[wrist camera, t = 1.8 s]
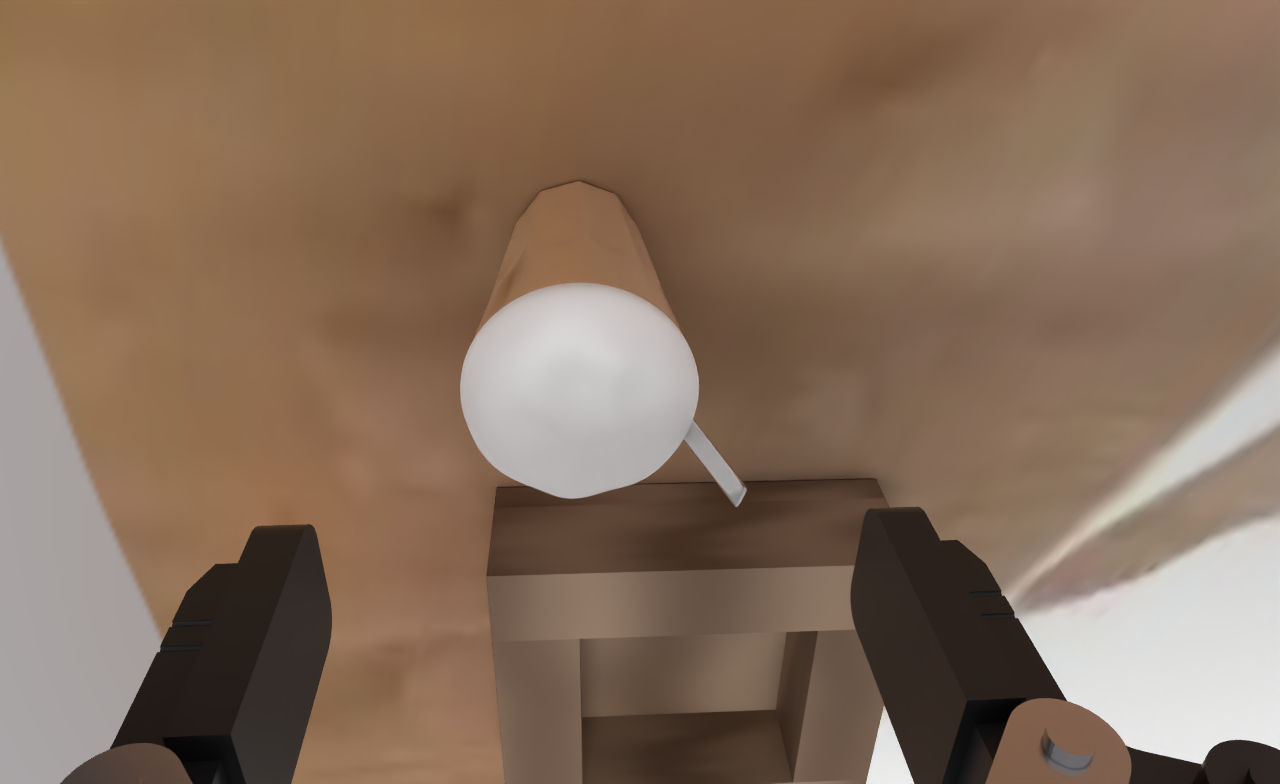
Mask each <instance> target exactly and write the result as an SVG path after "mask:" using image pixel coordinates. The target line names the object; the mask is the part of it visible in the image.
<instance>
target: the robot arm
mask: <svg viewBox="0 0 1280 784" xmlns="http://www.w3.org/2000/svg"><path fill="white" fill-rule="evenodd" d="M850 602H851V612H852V618H853V622H854V626H855V629H856V631H857V634H858V637H859V639H860V642H861V645H862V647H863V650H864V652H865V655H866V658H867V660H868V663H869V666H870V668H871V671H872V673H873V676H874V679H875V681H876V684H877V687H878V689H879V692H880V694H881V697H882V700H883V702H884V705H885V708H886V710H887V713H888V715H889V718H890V721H891V723H892V726H893V729H894V731H895V734H896V736H897V739H898V742H899V744H900V747H901V749H902V752H903V755H904V757H905V760H906V763H907V765H908V768H909V770H910V773H911V776H912V778H913V781H914V784H1280V750H1278V749H1276V748H1273V747H1271V746H1268V745H1265V744H1261V743H1258V742H1253V741H1247V740H1230V741H1225V742H1222V743H1219V744H1218V745H1216V746H1214V747H1213V748H1212V749H1211V750H1210V751H1209V753H1208V754H1207V756H1206V758H1205V760H1204V762H1203V764H1198V763H1193V762H1189V761H1184V760H1180V759H1175V758H1171V757H1166V756H1162V755H1157V754H1153V753H1148V752H1144V751H1141V750H1137V749H1133V748H1130V747H1128V746H1126V745H1125V744H1124V742H1123V740H1122V739H1121V738H1120V736H1119V735H1118V734H1117V732H1116V731H1115V730H1114V729H1113V728H1112V727H1111V726H1110V725H1109V724H1108V723H1106V722H1105V721H1104V720H1103V719H1101V718H1100V717H1099V716H1097V715H1096V714H1094V713H1092V712H1091V711H1089V710H1087V709H1085V708H1083V707H1081V706H1079V705H1076V704H1073V703H1071V702H1068V701H1067V700H1066V698H1065V697H1064V695H1063V693H1062V692H1061V690H1060V688H1059V687H1058V685H1057V683H1056V682H1055V680H1054V678H1053V677H1052V675H1051V673H1050V671H1049V670H1048V668H1047V666H1046V665H1045V663H1044V661H1043V660H1042V658H1041V656H1040V655H1039V653H1038V651H1037V650H1036V648H1035V646H1034V645H1033V643H1032V641H1031V639H1030V638H1029V636H1028V634H1027V633H1026V631H1025V629H1024V628H1023V626H1022V624H1021V623H1020V621H1019V619H1018V618H1015V616H1014V611H1013V609H1012V608H1011V606H1010V604H1009V602H1008V601H1007V599H1006V597H1005V596H1002V594H1001V589H1000V587H999V586H998V584H997V582H996V581H995V579H994V577H993V576H992V574H991V572H990V571H989V569H988V567H987V565H986V564H985V563H984V562H983V561H982V560H981V559H979V558H978V557H977V556H976V555H975V554H974V553H972V552H971V551H970V550H969V549H968V548H966V547H965V546H964V545H963V544H962V543H960V542H959V541H958V540H945V541H940V539H939V537H938V535H937V533H936V532H935V530H934V528H933V526H932V524H931V522H930V521H929V519H928V517H927V515H926V514H925V512H924V511H923V510H922V509H921V508H920V507H897V508H870V509H868V510H867V512H866V514H865V516H864V520H863V525H862V530H861V535H860V540H859V546H858V551H857V556H856V561H855V566H854V572H853V577H852V582H851V590H850ZM172 622H173V625H172V627H169V629H168V631H167V633H166V635H165V637H164V639H163V641H162V644H161V646H160V647H161V649H160V652H158V653H157V654H156V656H155V658H154V660H153V662H152V664H151V666H150V668H149V670H148V672H147V674H146V677H145V678H144V680H143V683H142V685H141V687H140V689H139V691H138V693H137V695H136V697H135V699H134V701H133V703H132V705H131V707H130V709H129V711H128V713H127V715H126V717H125V719H124V721H123V724H122V726H121V728H120V730H119V732H118V734H117V736H116V738H115V740H114V742H113V744H112V746H111V747H110V749H109V750H107V751H105V752H103V753H101V754H98V755H96V756H95V757H93V758H91V759H89V760H88V761H86V762H84V763H83V764H82V765H80V766H79V767H77V768H76V769H75V770H74V771H72V772H71V773H70V774H69V775H68V776H67V777H66V778H65V779H64V780H63V781H62V782H61V783H60V784H291V782H292V779H293V775H294V771H295V768H296V764H297V761H298V757H299V753H300V750H301V746H302V743H303V739H304V735H305V732H306V728H307V725H308V721H309V717H310V714H311V710H312V707H313V703H314V699H315V696H316V692H317V689H318V685H319V681H320V678H321V674H322V671H323V667H324V664H325V660H326V656H327V653H328V649H329V645H330V639H331V629H332V611H331V602H330V597H329V592H328V587H327V583H326V578H325V573H324V568H323V563H322V558H321V553H320V548H319V543H318V539H317V534H316V531H315V529H314V527H313V526H312V525H310V524H308V525H276V526H257V527H255V528H254V529H253V531H252V533H251V534H250V537H249V539H248V541H247V544H246V546H245V548H244V551H243V553H242V555H241V557H240V560H239V562H238V563H233V564H215V565H214V566H213V567H212V568H211V569H210V570H209V571H208V572H207V573H206V574H205V575H203V576H202V577H201V578H200V579H199V580H198V581H197V582H196V583H195V584H194V585H193V586H192V587H191V588H190V589H189V590H188V591H187V592H186V594H185V596H184V598H183V600H182V602H181V605H180V607H179V609H178V611H177V613H176V615H175V617H174V619H173V621H172Z"/></svg>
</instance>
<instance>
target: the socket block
mask: <svg viewBox="0 0 1280 784" xmlns="http://www.w3.org/2000/svg"><path fill="white" fill-rule="evenodd" d="M742 483H743V484H744V485H745V487H746V489H747V491H746V493H745V495H744V497H743V499H742V501H741V502H740V504H739V506H738V507H735V506H734V505H733V503H732V502H731V501H730V500H729V498H728V497H727V496H726V494H725V493H724V492H723V490H722V489H721V488H720V486H719V485H718V484H717V483H683V484H640V485H629V486H625V487H622V488H617V489H613V490H609V491H606V492H602V493H599V494H596V495H592V496H588V497H583V498H575V499H569V498H561V497H557V496H554V495H551V494H548V493H546V492H543V491H541V490H538V489H536V488H533V487H511V488H497V489H496V498H495V506H494V515H493V524H492V532H491V541H490V550H489V559H488V567H487V576H486V577H487V588H488V599H489V611H490V622H491V633H492V645H493V656H494V667H495V678H496V690H497V701H498V712H499V723H500V735H501V746H502V757H503V768H504V780H505V784H866V780H867V776H868V771H869V767H870V763H871V758H872V754H873V750H874V745H875V741H876V737H877V732H878V728H879V724H880V719H881V715H882V711H883V706H884V702H883V700H882V697H881V694H880V692H879V689H878V687H877V684H876V681H875V679H874V676H873V673H872V671H871V668H870V666H869V663H868V660H867V658H866V655H865V652H864V650H863V647H862V645H861V642H860V639H859V637H858V634H857V631H856V629H855V626H854V622H853V618H852V612H851V602H850V590H851V582H852V577H853V572H854V566H855V561H856V556H857V551H858V546H859V540H860V535H861V530H862V525H863V520H864V516H865V514H866V512H867V510H868V509H870V508H889V506H888V503H887V501H886V499H885V497H884V495H883V493H882V491H881V489H880V487H879V485H878V483H877V481H876V479H855V480H812V481H769V482H742Z"/></svg>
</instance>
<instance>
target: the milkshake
mask: <svg viewBox="0 0 1280 784" xmlns="http://www.w3.org/2000/svg"><path fill="white" fill-rule="evenodd" d="M460 396H461V405H462V410H463V414H464V417H465V420H466V423H467V426H468V428H469V430H470V433H471V435H472V437H473V439H474V441H475V443H476V445H477V446H478V448H479V450H480V451H481V453H482V454H483V455H484V457H485V458H486V459H487V460H488V461H489V462H490V463H491V464H492V465H493V466H494V467H495V468H496V469H498V470H499V471H500V472H502V473H503V474H505V475H506V476H508V477H510V478H512V479H514V480H516V481H518V482H520V483H523V484H525V485H528V486H530V487H533V488H536V489H538V490H541V491H543V492H546V493H548V494H551V495H554V496H557V497H561V498H569V499H575V498H583V497H588V496H592V495H596V494H599V493H602V492H606V491H609V490H613V489H617V488H622V487H625V486H629V485H632V484H635V483H637V482H639V481H641V480H643V479H645V478H647V477H648V476H650V475H651V474H653V473H654V472H655V471H657V470H658V469H659V468H660V467H661V466H662V465H663V464H664V463H665V462H666V461H667V460H668V459H669V458H670V457H671V456H672V454H673V453H674V452H675V451H676V449H677V448H678V447H679V445H680V444H681V442H682V441H683V439H684V440H685V441H686V442H687V444H688V445H689V446H690V448H691V449H692V450H693V452H694V453H695V454H696V456H697V457H698V458H699V460H700V461H701V462H702V464H703V465H704V466H705V468H706V469H707V470H708V472H709V473H710V474H711V476H712V477H713V478H714V480H715V481H716V482H717V484H718V485H719V486H720V488H721V489H722V490H723V492H724V493H725V494H726V496H727V497H728V498H729V500H730V501H731V502H732V503H733V505H734V506H735V507H738V506H739V504H740V502H741V501H742V499H743V497H744V495H745V493H746V491H747V489H746V487H745V485H744V484H743V483H742V481H741V480H740V479H739V477H738V476H737V475H736V474H735V472H734V471H733V470H732V468H731V467H730V466H729V465H728V463H727V462H726V461H725V459H724V458H723V457H722V456H721V454H720V453H719V452H718V450H717V449H716V448H715V447H714V445H713V444H712V443H711V441H710V440H709V439H708V438H707V436H706V435H705V434H704V432H703V431H702V430H701V429H700V427H699V426H698V425H697V423H696V422H695V421H694V420H693V418H694V415H695V411H696V408H697V403H698V396H699V378H698V371H697V367H696V363H695V360H694V357H693V354H692V352H691V350H690V347H689V345H688V343H687V341H686V339H685V337H684V335H683V333H682V331H681V328H680V326H679V324H678V322H677V320H676V318H675V316H674V314H673V312H672V310H671V307H670V305H669V303H668V301H667V299H666V297H665V295H664V292H663V290H662V287H661V285H660V282H659V279H658V277H657V274H656V272H655V269H654V267H653V264H652V262H651V259H650V257H649V254H648V251H647V249H646V246H645V244H644V241H643V239H642V236H641V234H640V231H639V229H638V226H637V225H636V223H635V222H634V220H633V219H632V217H631V216H630V214H629V213H628V211H627V210H626V208H625V207H624V206H623V204H622V202H621V201H620V199H619V198H618V196H617V195H616V194H614V193H611V192H609V191H606V190H603V189H600V188H598V187H595V186H592V185H589V184H587V183H584V182H581V181H576V182H572V183H569V184H565V185H561V186H558V187H554V188H550V189H546V190H542V191H541V192H540V193H539V194H538V195H537V197H536V198H535V199H534V201H533V202H532V203H531V204H530V206H529V207H528V208H527V209H526V211H525V212H524V213H523V214H522V216H521V217H520V218H519V219H518V221H517V223H516V226H515V228H514V231H513V234H512V237H511V240H510V243H509V245H508V248H507V251H506V254H505V257H504V260H503V262H502V265H501V268H500V271H499V274H498V277H497V280H496V283H495V286H494V289H493V292H492V295H491V297H490V300H489V302H488V305H487V307H486V310H485V312H484V314H483V317H482V319H481V321H480V324H479V326H478V328H477V331H476V333H475V335H474V338H473V340H472V342H471V345H470V347H469V350H468V352H467V355H466V357H465V360H464V364H463V368H462V374H461V383H460Z"/></svg>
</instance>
